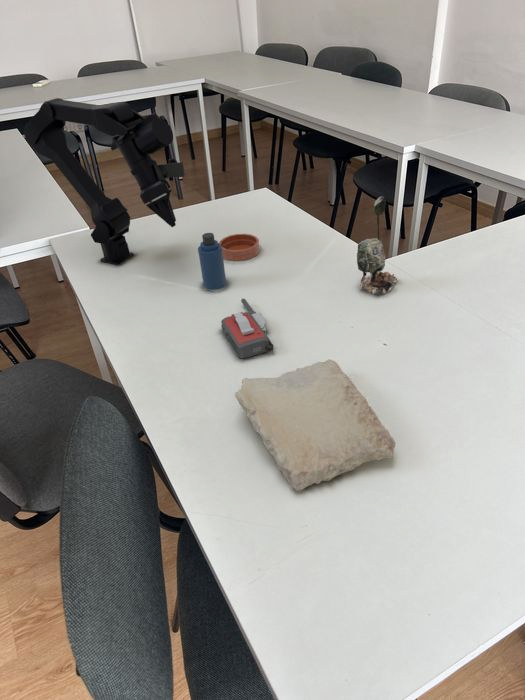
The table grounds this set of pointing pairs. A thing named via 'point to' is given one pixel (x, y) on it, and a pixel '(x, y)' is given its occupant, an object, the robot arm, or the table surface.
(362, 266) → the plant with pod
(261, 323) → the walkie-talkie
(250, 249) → the dish
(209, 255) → the blue bottle
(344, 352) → the table surface
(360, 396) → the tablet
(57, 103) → the robot arm
